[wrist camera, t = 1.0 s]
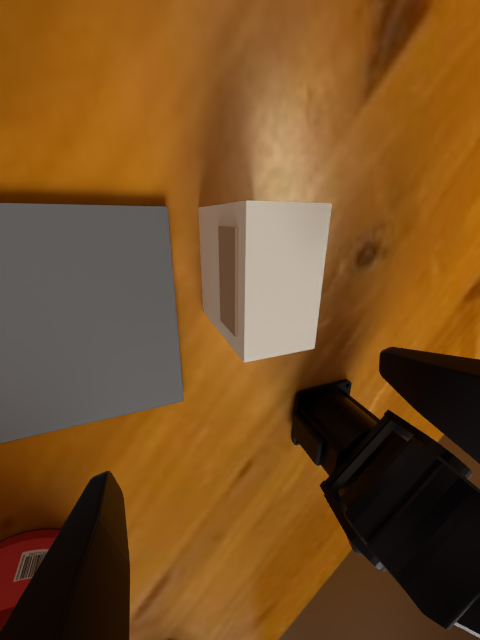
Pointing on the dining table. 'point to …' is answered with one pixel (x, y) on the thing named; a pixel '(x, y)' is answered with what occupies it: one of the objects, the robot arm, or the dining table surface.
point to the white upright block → (264, 273)
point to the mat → (84, 315)
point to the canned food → (20, 565)
